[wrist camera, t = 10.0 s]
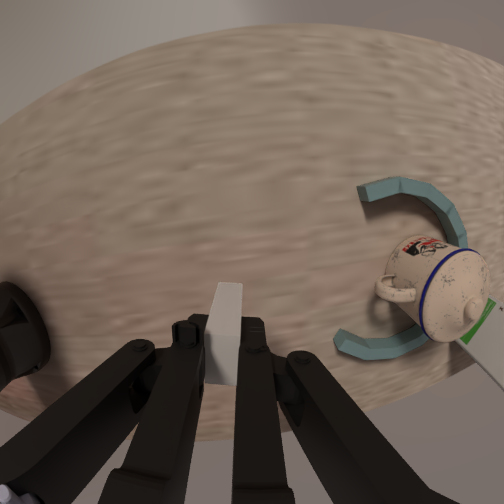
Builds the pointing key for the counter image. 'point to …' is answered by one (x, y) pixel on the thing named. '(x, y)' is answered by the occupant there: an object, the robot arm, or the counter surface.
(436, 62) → the counter surface
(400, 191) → the open curved ring
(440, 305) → the teacup with lid
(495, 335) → the skincare box
